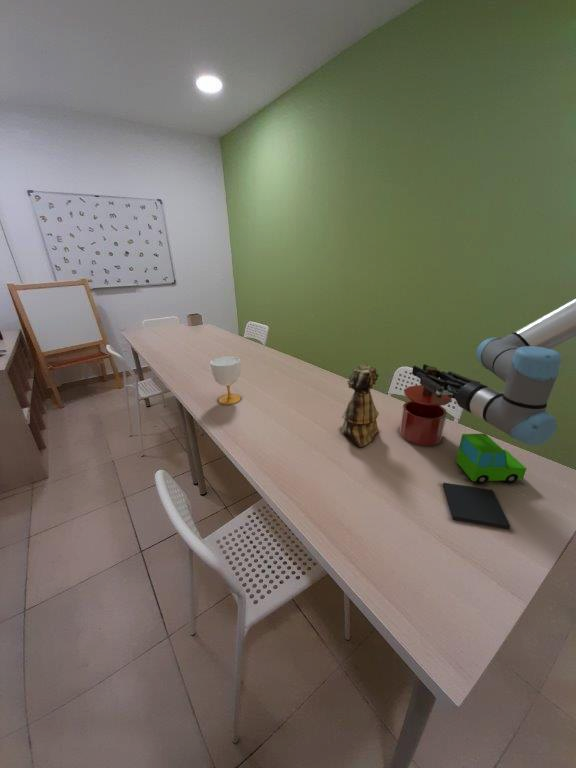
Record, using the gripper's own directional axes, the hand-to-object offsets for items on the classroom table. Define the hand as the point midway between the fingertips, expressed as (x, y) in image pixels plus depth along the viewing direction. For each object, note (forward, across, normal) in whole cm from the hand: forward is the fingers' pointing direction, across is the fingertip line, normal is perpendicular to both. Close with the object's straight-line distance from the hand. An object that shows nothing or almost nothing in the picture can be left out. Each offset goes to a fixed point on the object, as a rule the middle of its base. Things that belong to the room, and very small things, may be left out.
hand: (418, 369), depth 94 cm
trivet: (-34, -8, -21) cm, 41 cm away
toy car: (-27, +5, -21) cm, 34 cm away
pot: (-5, 0, -21) cm, 22 cm away
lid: (-5, 0, -7) cm, 9 cm away
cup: (+41, -58, -21) cm, 74 cm away
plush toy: (+1, -20, -21) cm, 29 cm away
